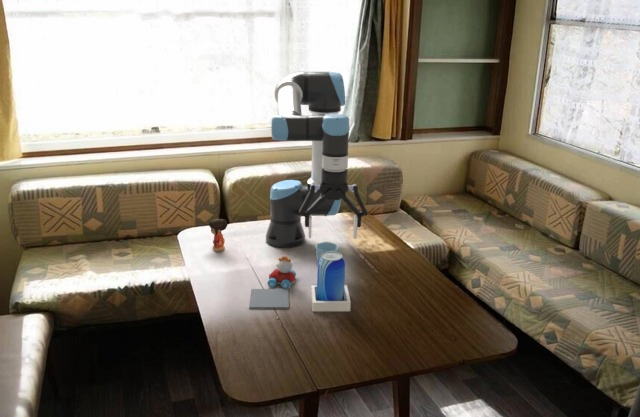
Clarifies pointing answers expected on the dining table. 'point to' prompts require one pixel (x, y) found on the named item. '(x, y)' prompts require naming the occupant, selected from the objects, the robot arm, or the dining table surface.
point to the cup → (325, 248)
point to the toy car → (282, 274)
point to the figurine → (218, 233)
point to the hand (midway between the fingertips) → (332, 236)
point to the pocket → (330, 302)
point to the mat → (269, 299)
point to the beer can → (330, 277)
